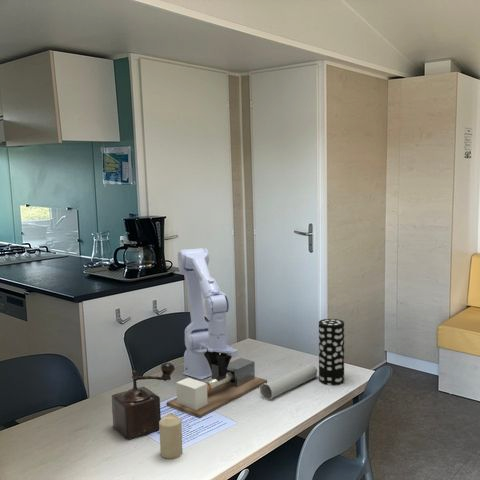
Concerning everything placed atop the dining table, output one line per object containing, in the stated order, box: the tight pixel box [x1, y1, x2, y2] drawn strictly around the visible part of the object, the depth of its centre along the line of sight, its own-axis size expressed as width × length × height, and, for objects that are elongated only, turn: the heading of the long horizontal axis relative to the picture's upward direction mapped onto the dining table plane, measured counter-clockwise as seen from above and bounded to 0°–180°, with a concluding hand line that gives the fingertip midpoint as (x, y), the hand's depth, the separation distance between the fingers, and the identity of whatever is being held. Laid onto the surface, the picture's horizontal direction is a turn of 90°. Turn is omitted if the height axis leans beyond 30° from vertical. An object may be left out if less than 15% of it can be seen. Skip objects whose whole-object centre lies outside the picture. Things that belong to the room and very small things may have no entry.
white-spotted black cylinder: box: [318, 318, 345, 386], centre depth 182 cm, size 8×8×20 cm
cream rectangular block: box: [175, 377, 208, 410], centre depth 165 cm, size 8×5×6 cm, turn 50°
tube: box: [259, 363, 318, 401], centre depth 179 cm, size 5×5×25 cm
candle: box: [159, 412, 183, 460], centre depth 139 cm, size 6×6×10 cm
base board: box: [166, 376, 268, 419], centre depth 175 cm, size 14×32×1 cm, turn 140°
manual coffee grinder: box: [111, 362, 176, 441], centre depth 154 cm, size 16×11×18 cm
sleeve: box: [226, 357, 256, 387], centre depth 182 cm, size 6×9×6 cm, turn 140°
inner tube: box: [203, 361, 235, 393], centre depth 176 cm, size 3×19×8 cm, turn 140°
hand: (218, 374), depth 174 cm, fingers closed on inner tube, 3 cm apart
